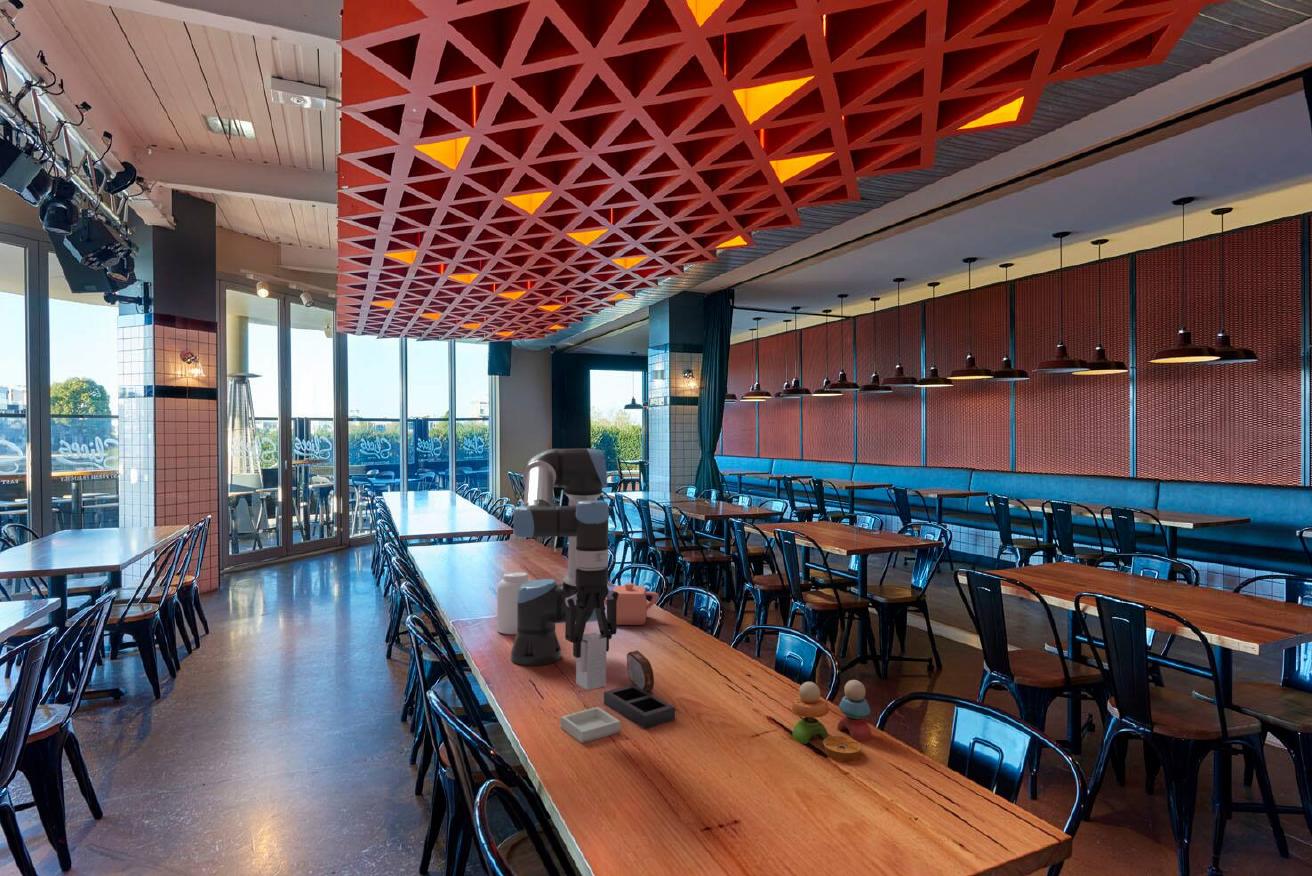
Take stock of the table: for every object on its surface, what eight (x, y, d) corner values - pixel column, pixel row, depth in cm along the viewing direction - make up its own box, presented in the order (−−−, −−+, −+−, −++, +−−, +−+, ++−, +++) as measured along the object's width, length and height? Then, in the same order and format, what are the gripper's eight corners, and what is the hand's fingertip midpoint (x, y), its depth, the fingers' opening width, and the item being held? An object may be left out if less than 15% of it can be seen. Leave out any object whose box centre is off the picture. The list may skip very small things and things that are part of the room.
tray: (560, 727, 153) (560, 716, 153) (597, 717, 158) (597, 706, 158) (582, 743, 144) (582, 732, 144) (620, 732, 150) (620, 721, 150)
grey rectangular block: (576, 683, 152) (576, 636, 152) (594, 679, 155) (595, 632, 155) (587, 690, 148) (587, 641, 148) (606, 685, 151) (606, 637, 151)
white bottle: (540, 628, 232) (541, 572, 232) (515, 637, 222) (515, 578, 222) (514, 623, 239) (515, 568, 239) (489, 631, 228) (489, 574, 229)
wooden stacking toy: (835, 767, 135) (836, 707, 135) (784, 733, 151) (785, 679, 151) (900, 750, 143) (900, 693, 143) (845, 720, 158) (845, 668, 159)
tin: (655, 695, 173) (655, 663, 173) (643, 696, 172) (644, 664, 172) (635, 675, 187) (635, 646, 187) (624, 677, 186) (625, 647, 186)
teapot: (658, 627, 236) (658, 588, 236) (597, 626, 236) (597, 587, 236) (658, 612, 256) (659, 577, 256) (602, 612, 256) (602, 576, 256)
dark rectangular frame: (603, 703, 167) (603, 691, 167) (633, 695, 172) (633, 684, 172) (644, 729, 152) (644, 716, 152) (675, 719, 157) (675, 707, 157)
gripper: (565, 574, 143) (564, 681, 143) (633, 566, 154) (632, 665, 154) (549, 569, 149) (548, 671, 149) (615, 561, 160) (615, 657, 160)
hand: (591, 668), depth 151 cm, fingers closed on grey rectangular block, 5 cm apart
